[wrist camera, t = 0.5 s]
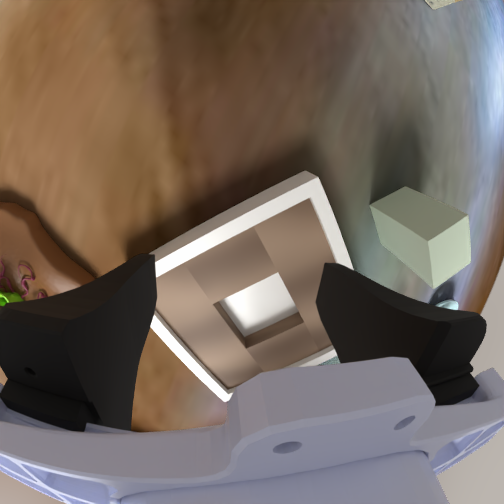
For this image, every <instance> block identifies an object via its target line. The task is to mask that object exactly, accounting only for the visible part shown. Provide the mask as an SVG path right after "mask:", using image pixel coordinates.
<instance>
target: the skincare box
mask: <svg viewBox="0 0 504 504" xmlns="http://www.w3.org/2000/svg"><path fill="white" fill-rule="evenodd" d="M425 1H426V2H427V4H428V5H429V6H430V7H431V8H432V9H433V10H435V9H438V8H441V7H443V6H446V5H449V4H452V3H455V2H458V1H461V0H425Z"/></svg>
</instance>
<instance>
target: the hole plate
mask: <svg viewBox="0 0 504 504" xmlns="http://www.w3.org/2000/svg"><path fill="white" fill-rule="evenodd" d="M325 263H336V261H335V259H334V256H333V253H332V251H331V248H330V246H329V243H328V241H327V238H326V236H325V233H324V231H323V229H322V226H321V224H320V221H319V219H318V217H317V214H316V212H315V209H314V207H313V205H312V202H311V200H310V198H308V199H306V200H304V201H302V202H300V203H298V204H296V205H294V206H292V207H290V208H288V209H286V210H284V211H282V212H280V213H278V214H276V215H274V216H272V217H270V218H268V219H266V220H264V221H262V222H260V223H258V224H256V225H255V226H253V227H251V228H249V229H247V230H245V231H243V232H241V233H239V234H237V235H235V236H233V237H231V238H229V239H228V240H226V241H224V242H222V243H220V244H218V245H216V246H214V247H212V248H210V249H208V250H207V251H205V252H203V253H201V254H199V255H197V256H195V257H193V258H192V259H190V260H188V261H186V262H184V263H182V264H180V265H178V266H177V267H175V268H173V269H171V270H169V271H167V272H165V273H164V274H162V275H160V276H158V277H156V283H157V302H156V308H155V310H156V311H157V313H158V314H159V315H160V316H161V318H162V319H163V320H164V321H165V322H166V324H167V325H168V326H169V327H170V328H171V329H172V331H173V332H174V333H175V334H176V335H177V336H178V337H179V339H180V340H181V341H182V342H183V343H184V344H185V345H186V347H187V348H188V349H189V350H190V351H191V352H192V353H193V354H194V355H195V356H196V357H197V359H198V360H199V361H200V362H201V363H202V364H203V365H204V366H205V367H206V368H207V369H208V370H209V371H210V372H211V373H212V374H213V375H214V376H215V377H216V378H217V380H218V381H219V382H220V383H221V384H222V385H223V386H224V387H225V388H226V389H227V390H229V389H232V388H234V387H237V386H239V385H241V384H243V383H244V382H246V381H248V380H250V379H251V378H253V377H255V376H256V375H258V374H260V373H263V372H268V371H273V370H278V369H282V368H284V367H287V366H289V365H291V364H294V363H296V362H298V361H300V360H302V359H305V358H307V357H309V356H311V355H313V354H315V353H317V352H320V351H322V350H324V349H326V348H328V347H330V346H332V343H331V341H330V339H329V337H328V335H327V333H326V330H325V328H324V326H323V324H322V322H321V320H320V316H319V313H318V310H317V306H316V303H315V301H316V297H317V293H318V289H319V285H320V281H321V277H322V272H323V268H324V264H325ZM276 273H279V275H280V277H281V279H282V281H283V283H284V285H285V286H286V288H287V290H288V292H289V294H290V296H291V298H292V300H293V302H294V303H295V305H296V307H297V309H298V311H299V312H297V313H295V314H293V315H291V316H289V317H287V318H285V319H282V320H280V321H278V322H276V323H274V324H272V325H270V326H268V327H265V328H263V329H261V330H259V331H257V332H254V333H252V334H250V335H248V336H245V337H244V336H243V335H242V333H241V332H240V330H239V329H238V328H237V326H236V325H235V324H234V322H233V321H232V319H231V318H230V317H229V315H228V314H227V313H226V311H225V310H224V308H223V307H222V306H221V304H220V303H219V301H220V300H222V299H225V298H227V297H229V296H231V295H233V294H235V293H237V292H239V291H241V290H243V289H245V288H247V287H249V286H251V285H253V284H255V283H257V282H259V281H261V280H263V279H266V278H268V277H270V276H272V275H274V274H276Z"/></svg>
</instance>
